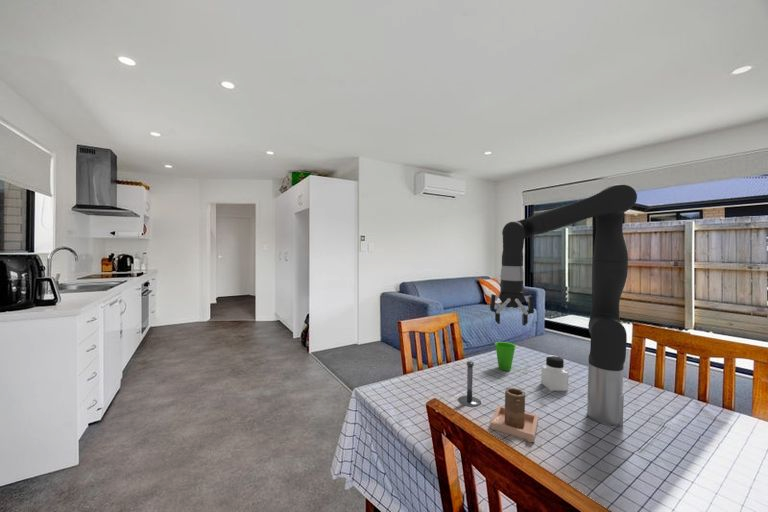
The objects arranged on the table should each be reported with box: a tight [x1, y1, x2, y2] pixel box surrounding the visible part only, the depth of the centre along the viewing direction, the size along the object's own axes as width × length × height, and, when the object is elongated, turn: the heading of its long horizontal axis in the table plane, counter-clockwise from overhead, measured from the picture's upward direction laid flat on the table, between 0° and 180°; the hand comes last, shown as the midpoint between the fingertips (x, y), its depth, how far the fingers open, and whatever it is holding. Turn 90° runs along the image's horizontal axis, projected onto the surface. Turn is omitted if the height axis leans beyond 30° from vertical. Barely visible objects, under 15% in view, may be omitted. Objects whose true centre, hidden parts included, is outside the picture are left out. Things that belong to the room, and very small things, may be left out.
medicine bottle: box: [540, 355, 569, 392], centre depth 123 cm, size 7×7×12 cm
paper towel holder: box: [457, 360, 482, 408], centre depth 109 cm, size 8×8×14 cm
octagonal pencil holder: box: [504, 387, 526, 429], centre depth 95 cm, size 5×7×10 cm
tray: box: [489, 404, 539, 443], centre depth 95 cm, size 12×12×2 cm
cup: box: [494, 341, 517, 371], centre depth 141 cm, size 9×9×11 cm
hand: (511, 324), depth 109 cm, fingers open, 8 cm apart
